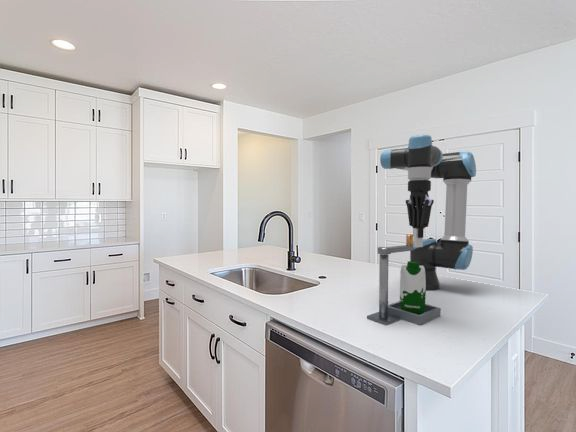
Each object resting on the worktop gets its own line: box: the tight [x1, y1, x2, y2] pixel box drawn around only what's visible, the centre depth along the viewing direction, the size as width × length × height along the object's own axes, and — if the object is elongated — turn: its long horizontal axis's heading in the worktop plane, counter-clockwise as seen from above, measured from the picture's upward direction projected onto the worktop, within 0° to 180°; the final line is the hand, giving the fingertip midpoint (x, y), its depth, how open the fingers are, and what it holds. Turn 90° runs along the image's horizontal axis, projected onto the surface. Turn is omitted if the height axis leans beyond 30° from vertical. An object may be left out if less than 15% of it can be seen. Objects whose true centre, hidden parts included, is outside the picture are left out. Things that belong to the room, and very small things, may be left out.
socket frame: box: [388, 300, 442, 326], centre depth 118 cm, size 14×14×3 cm
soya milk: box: [399, 261, 427, 315], centre depth 118 cm, size 9×9×20 cm
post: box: [366, 254, 401, 326], centre depth 113 cm, size 8×8×23 cm
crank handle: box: [377, 233, 414, 255], centre depth 116 cm, size 17×4×6 cm, turn 121°
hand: (418, 246), depth 114 cm, fingers closed
